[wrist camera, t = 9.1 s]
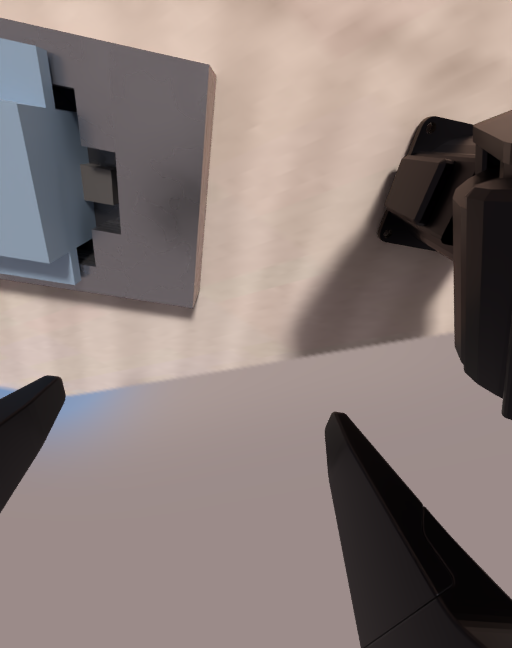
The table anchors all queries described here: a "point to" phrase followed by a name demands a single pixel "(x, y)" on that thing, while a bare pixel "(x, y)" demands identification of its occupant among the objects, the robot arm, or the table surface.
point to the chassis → (136, 161)
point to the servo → (43, 173)
